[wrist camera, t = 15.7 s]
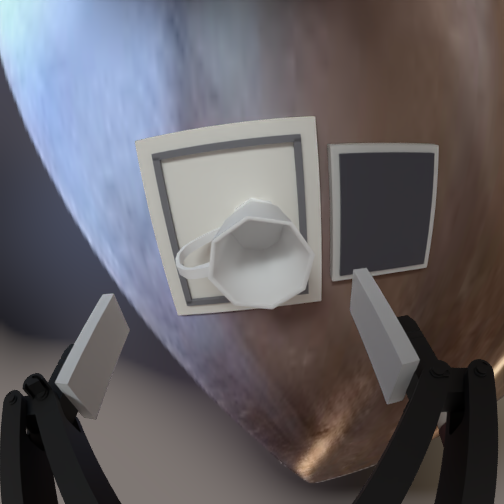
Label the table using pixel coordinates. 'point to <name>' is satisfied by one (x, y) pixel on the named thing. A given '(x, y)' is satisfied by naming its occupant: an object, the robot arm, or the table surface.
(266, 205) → the cup
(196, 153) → the board
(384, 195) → the ink pad
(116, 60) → the table surface
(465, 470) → the robot arm
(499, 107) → the table surface
